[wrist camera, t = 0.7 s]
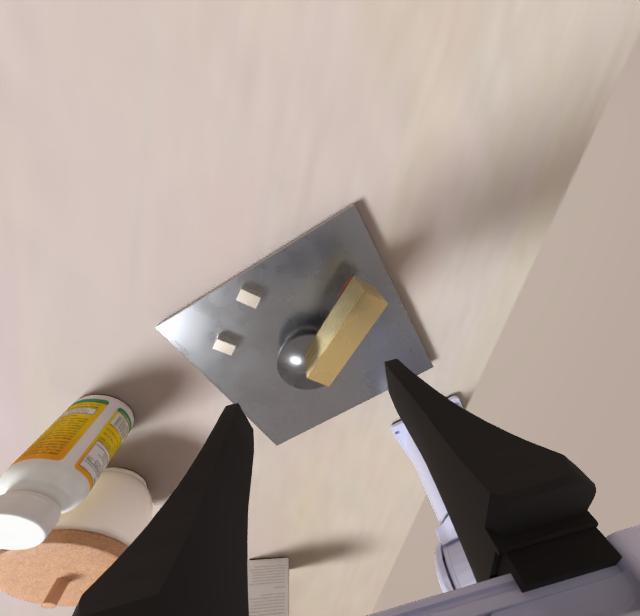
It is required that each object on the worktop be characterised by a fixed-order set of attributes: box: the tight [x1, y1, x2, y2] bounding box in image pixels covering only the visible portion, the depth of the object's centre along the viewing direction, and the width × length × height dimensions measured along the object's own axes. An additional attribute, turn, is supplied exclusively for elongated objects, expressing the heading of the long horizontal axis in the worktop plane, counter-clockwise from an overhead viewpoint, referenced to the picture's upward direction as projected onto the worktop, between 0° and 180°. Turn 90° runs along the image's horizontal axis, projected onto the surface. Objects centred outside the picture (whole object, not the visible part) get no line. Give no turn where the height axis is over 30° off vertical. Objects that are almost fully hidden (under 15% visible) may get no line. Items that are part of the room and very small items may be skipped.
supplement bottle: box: [0, 395, 134, 550], centre depth 21 cm, size 5×5×10 cm
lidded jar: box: [0, 467, 153, 608], centre depth 25 cm, size 11×11×9 cm
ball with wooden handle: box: [277, 276, 388, 390], centre depth 20 cm, size 11×5×4 cm, turn 150°
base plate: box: [156, 204, 433, 445], centre depth 23 cm, size 17×18×2 cm
